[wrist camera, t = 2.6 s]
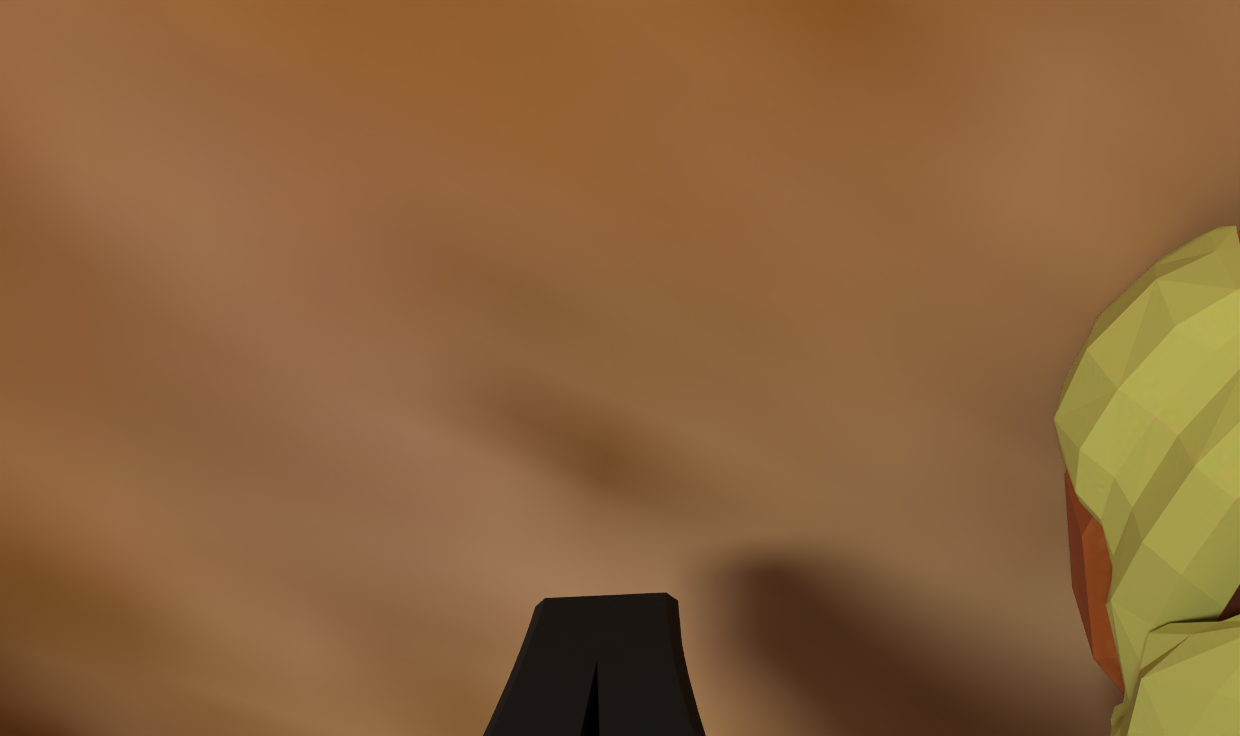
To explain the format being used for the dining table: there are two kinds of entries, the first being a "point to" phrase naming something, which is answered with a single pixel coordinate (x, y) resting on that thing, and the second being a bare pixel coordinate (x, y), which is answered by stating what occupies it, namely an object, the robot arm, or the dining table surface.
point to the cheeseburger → (1161, 491)
